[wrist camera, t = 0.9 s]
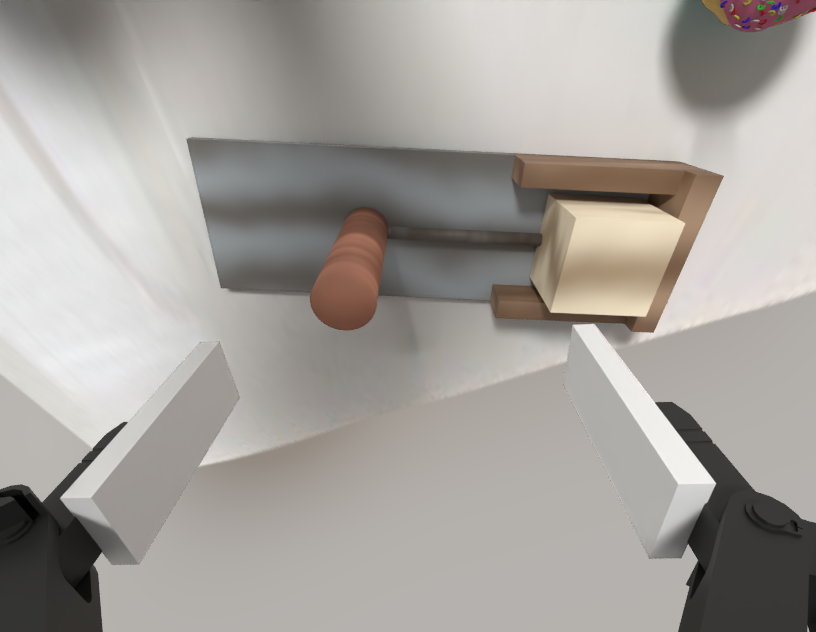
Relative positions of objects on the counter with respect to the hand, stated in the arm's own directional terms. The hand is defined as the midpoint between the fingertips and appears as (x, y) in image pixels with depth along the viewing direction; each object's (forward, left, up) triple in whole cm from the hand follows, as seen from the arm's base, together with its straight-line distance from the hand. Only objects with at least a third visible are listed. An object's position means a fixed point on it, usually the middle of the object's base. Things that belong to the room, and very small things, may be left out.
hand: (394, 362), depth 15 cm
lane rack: (+1, +2, -20) cm, 20 cm away
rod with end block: (+1, +7, -19) cm, 20 cm away
